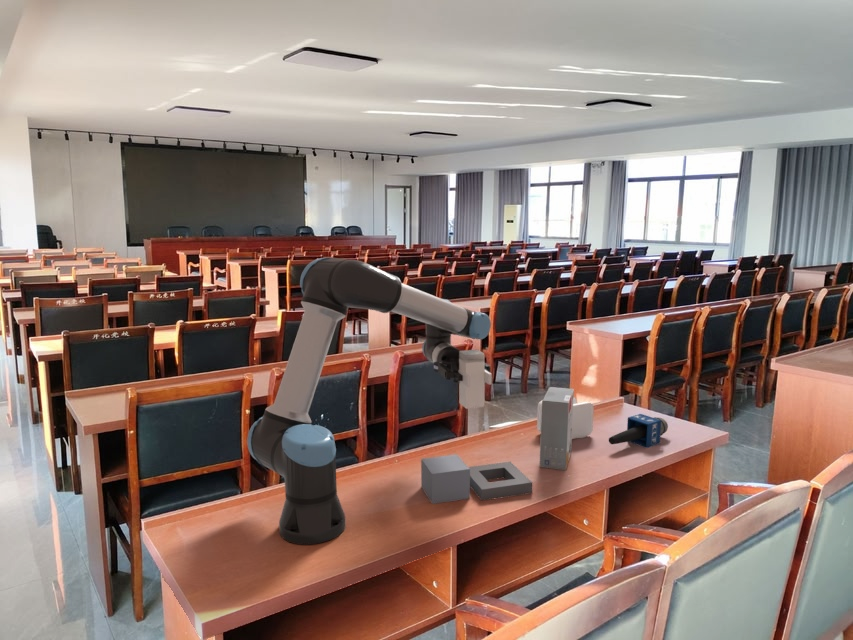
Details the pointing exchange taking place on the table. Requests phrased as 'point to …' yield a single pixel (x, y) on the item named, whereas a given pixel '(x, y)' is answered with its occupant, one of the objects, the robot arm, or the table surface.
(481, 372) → the plug
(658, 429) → the microphone
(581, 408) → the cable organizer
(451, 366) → the robot arm
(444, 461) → the stand
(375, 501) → the table surface
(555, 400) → the hard drive box
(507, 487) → the socket block
